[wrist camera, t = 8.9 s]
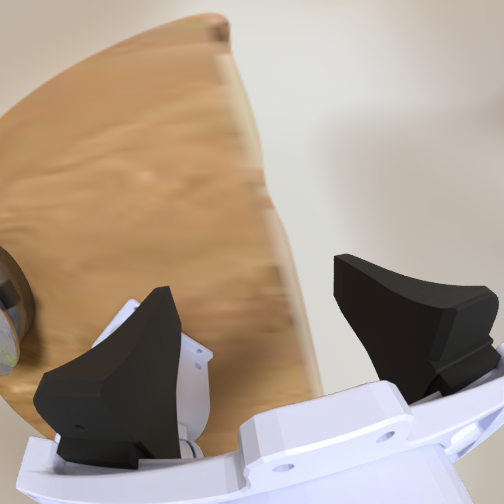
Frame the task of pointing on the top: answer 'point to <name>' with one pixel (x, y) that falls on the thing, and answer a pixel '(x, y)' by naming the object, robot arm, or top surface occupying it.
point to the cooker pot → (15, 294)
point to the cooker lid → (7, 343)
